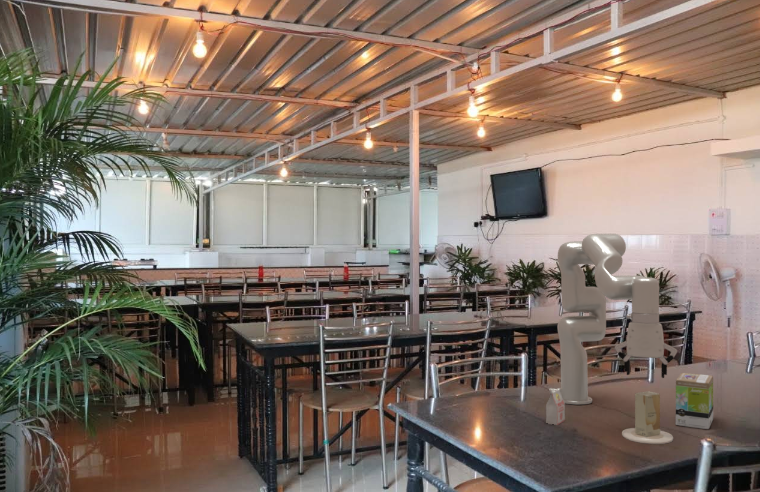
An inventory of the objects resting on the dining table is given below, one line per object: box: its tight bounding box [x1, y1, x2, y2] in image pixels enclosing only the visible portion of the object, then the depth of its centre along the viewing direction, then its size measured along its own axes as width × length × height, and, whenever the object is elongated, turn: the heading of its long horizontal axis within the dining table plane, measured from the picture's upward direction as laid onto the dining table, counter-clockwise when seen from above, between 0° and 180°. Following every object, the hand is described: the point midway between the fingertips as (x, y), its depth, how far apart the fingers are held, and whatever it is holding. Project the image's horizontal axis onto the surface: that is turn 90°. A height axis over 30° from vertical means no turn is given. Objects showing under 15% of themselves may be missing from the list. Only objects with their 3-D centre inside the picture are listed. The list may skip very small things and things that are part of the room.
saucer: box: [621, 427, 674, 445], centre depth 187 cm, size 14×14×1 cm
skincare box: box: [634, 391, 661, 437], centre depth 187 cm, size 6×4×12 cm
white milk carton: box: [545, 390, 566, 426], centre depth 205 cm, size 4×7×10 cm, turn 143°
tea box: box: [675, 372, 714, 430], centre depth 203 cm, size 15×10×15 cm, turn 148°
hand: (645, 375), depth 188 cm, fingers open, 9 cm apart
